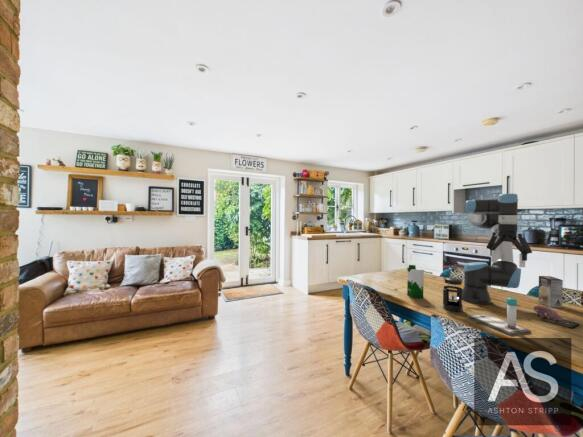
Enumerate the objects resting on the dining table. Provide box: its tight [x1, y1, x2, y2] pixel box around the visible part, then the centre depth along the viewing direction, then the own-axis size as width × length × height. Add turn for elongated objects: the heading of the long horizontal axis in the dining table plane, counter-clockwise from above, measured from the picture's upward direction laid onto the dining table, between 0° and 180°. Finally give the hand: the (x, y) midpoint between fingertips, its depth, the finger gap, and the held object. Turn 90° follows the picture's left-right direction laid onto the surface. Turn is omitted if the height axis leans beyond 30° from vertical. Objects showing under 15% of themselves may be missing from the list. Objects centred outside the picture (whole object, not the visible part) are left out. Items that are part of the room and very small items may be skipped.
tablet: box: [466, 313, 532, 336], centre depth 119 cm, size 20×12×1 cm, turn 13°
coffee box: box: [538, 275, 564, 308], centre depth 148 cm, size 9×6×16 cm
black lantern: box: [442, 267, 464, 314], centre depth 139 cm, size 12×9×23 cm
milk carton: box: [406, 264, 425, 299], centre depth 162 cm, size 9×9×20 cm
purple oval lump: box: [532, 305, 563, 322], centre depth 128 cm, size 10×5×7 cm, turn 8°
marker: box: [506, 297, 518, 329], centre depth 113 cm, size 3×3×13 cm
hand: (507, 264), depth 130 cm, fingers open, 13 cm apart
